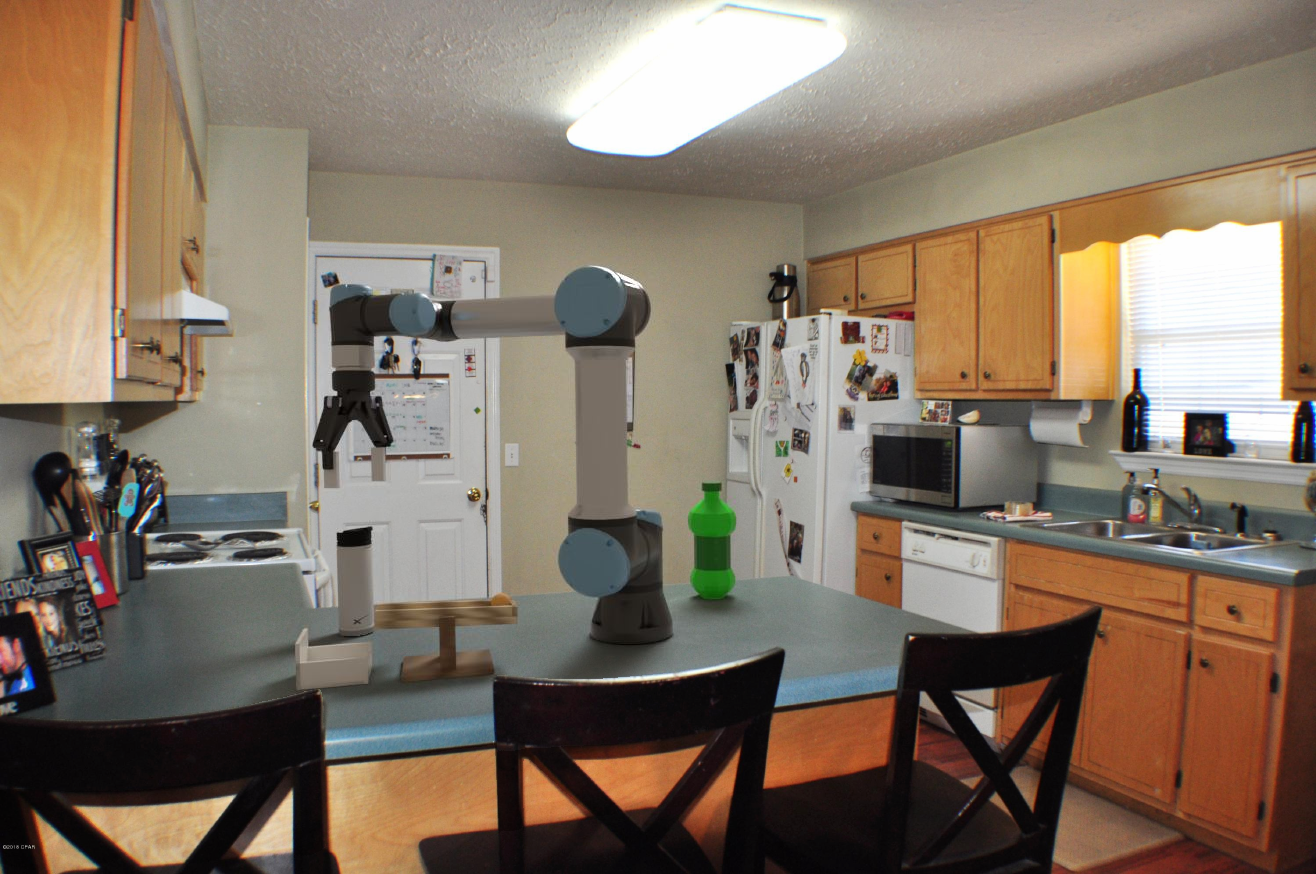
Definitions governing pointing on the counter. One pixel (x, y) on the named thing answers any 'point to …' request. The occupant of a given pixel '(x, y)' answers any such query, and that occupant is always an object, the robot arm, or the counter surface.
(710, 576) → the plastic bottle
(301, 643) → the white open box
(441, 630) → the stand
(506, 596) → the ball
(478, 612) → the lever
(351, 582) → the travel mug
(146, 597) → the counter surface
